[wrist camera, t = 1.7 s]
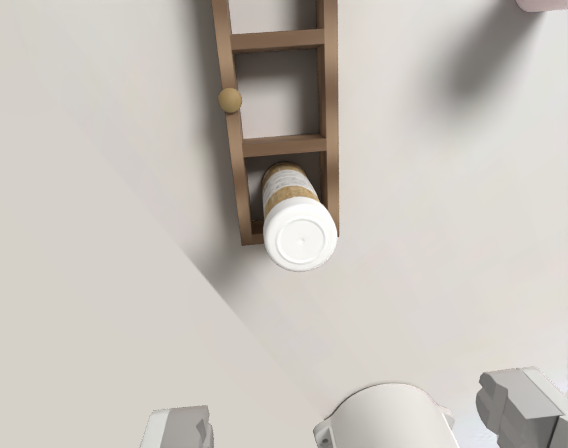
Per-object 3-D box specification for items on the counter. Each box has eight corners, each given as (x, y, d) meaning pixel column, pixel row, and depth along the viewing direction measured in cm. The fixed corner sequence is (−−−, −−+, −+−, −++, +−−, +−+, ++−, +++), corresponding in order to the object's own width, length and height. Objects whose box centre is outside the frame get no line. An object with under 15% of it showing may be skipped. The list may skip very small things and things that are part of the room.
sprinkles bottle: (295, 212, 35) (317, 284, 22) (253, 195, 34) (251, 259, 21) (316, 171, 33) (352, 223, 21) (273, 152, 32) (283, 193, 20)
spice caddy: (331, 222, 35) (339, 237, 32) (239, 231, 35) (237, 247, 31) (326, -87, 26) (337, -114, 22) (200, -81, 26) (191, -107, 22)
